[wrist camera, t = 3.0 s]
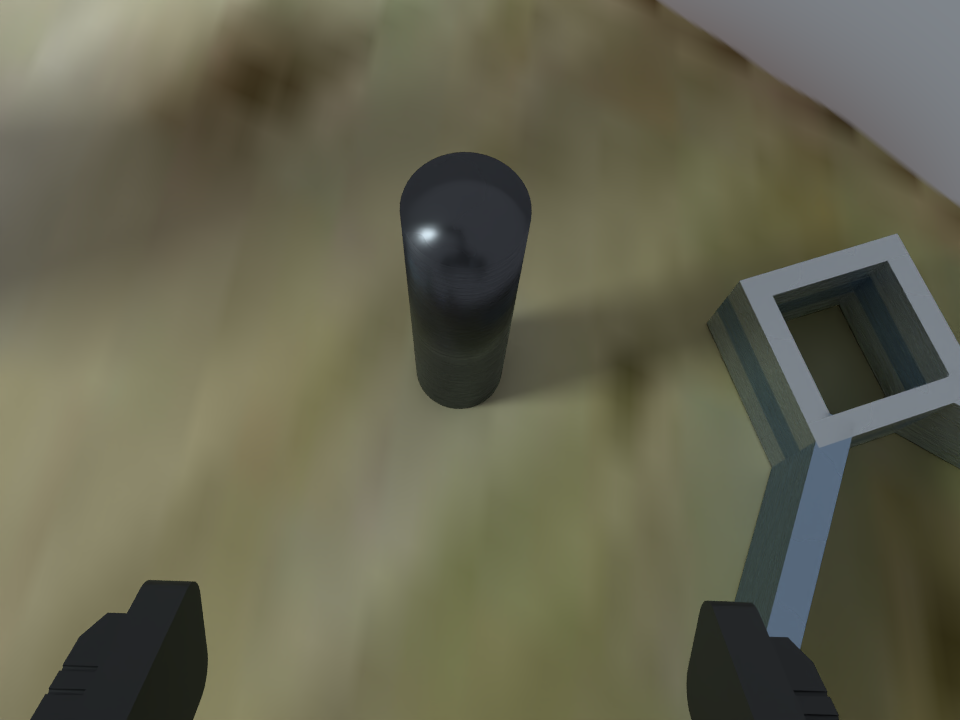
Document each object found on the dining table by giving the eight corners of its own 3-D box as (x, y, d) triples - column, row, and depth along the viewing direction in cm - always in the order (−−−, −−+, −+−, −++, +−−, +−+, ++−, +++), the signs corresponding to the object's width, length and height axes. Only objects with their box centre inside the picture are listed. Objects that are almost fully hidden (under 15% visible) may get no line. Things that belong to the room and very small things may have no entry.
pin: (431, 419, 29) (422, 283, 18) (406, 341, 29) (384, 170, 19) (513, 394, 29) (549, 247, 19) (485, 318, 30) (506, 138, 20)
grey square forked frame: (524, 379, 29) (534, 342, 26) (1010, 230, 32) (1077, 179, 29) (687, 825, 25) (725, 851, 21) (1237, 606, 27) (1349, 598, 24)
